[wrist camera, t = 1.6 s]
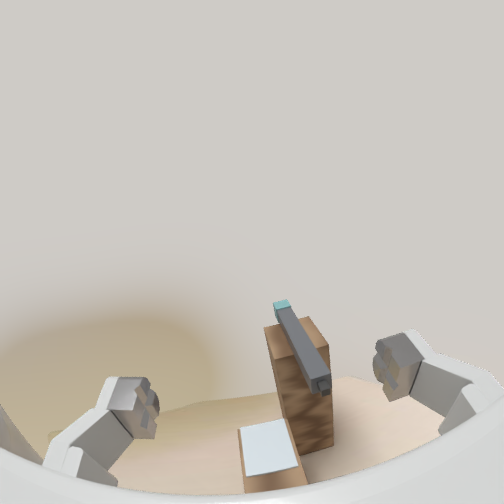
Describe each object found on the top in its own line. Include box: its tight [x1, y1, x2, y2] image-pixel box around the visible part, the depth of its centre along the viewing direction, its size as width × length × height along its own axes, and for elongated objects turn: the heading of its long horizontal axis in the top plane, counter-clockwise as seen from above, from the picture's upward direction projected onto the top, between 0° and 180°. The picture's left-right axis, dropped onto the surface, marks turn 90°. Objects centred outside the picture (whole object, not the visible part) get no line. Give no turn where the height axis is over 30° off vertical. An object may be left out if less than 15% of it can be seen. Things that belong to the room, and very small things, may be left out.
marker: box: [273, 300, 332, 397], centre depth 38 cm, size 3×24×3 cm, turn 6°
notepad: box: [240, 418, 298, 478], centre depth 32 cm, size 7×10×1 cm
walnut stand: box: [238, 316, 334, 494], centre depth 37 cm, size 16×26×26 cm, turn 6°
